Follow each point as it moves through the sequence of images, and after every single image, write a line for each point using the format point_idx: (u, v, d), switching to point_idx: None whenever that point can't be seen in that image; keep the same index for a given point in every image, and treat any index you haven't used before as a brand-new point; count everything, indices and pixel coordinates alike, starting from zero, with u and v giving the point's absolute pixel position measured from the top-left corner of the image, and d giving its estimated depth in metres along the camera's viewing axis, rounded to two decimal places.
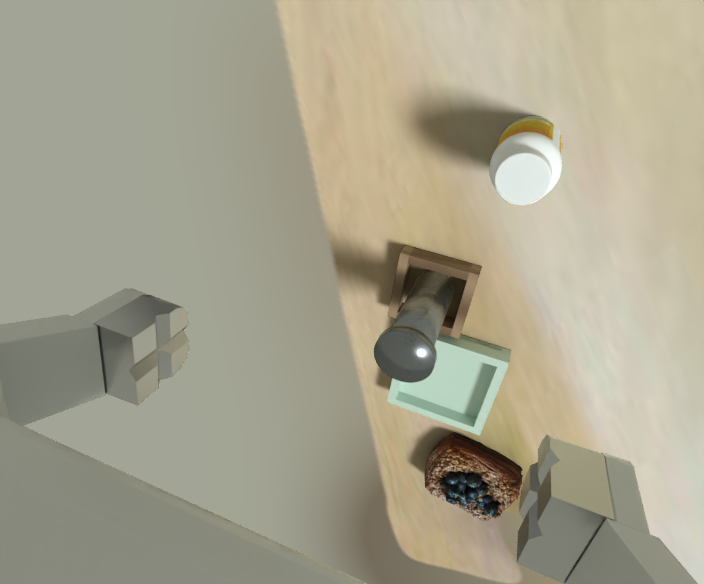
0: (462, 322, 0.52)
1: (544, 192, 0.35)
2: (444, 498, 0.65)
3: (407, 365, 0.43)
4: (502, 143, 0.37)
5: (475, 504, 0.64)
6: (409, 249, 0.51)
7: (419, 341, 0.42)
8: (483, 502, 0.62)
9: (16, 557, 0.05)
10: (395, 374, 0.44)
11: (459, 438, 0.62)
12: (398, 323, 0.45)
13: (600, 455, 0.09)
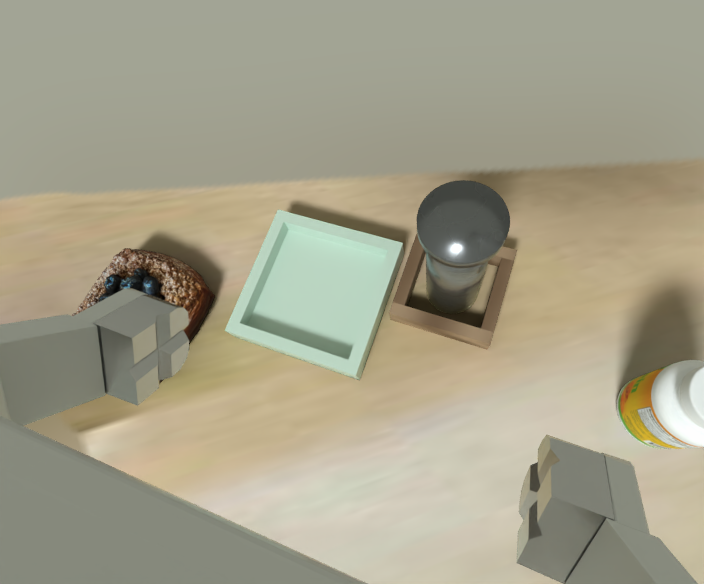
0: (415, 319, 0.39)
1: None
2: (106, 274, 0.43)
3: (449, 224, 0.30)
4: None
5: None
6: None
7: (496, 244, 0.29)
8: None
9: (16, 557, 0.05)
10: (429, 206, 0.30)
11: (209, 303, 0.44)
12: None
13: (601, 455, 0.09)
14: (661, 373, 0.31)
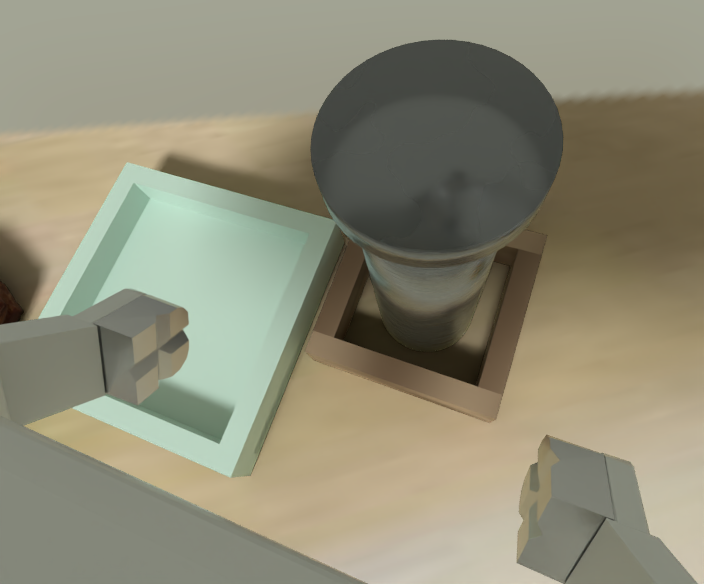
0: (353, 364, 0.21)
1: None
2: None
3: (396, 148, 0.11)
4: None
5: None
6: None
7: (526, 199, 0.10)
8: None
9: (16, 557, 0.05)
10: (348, 104, 0.11)
11: (6, 323, 0.25)
12: None
13: (601, 455, 0.09)
14: None
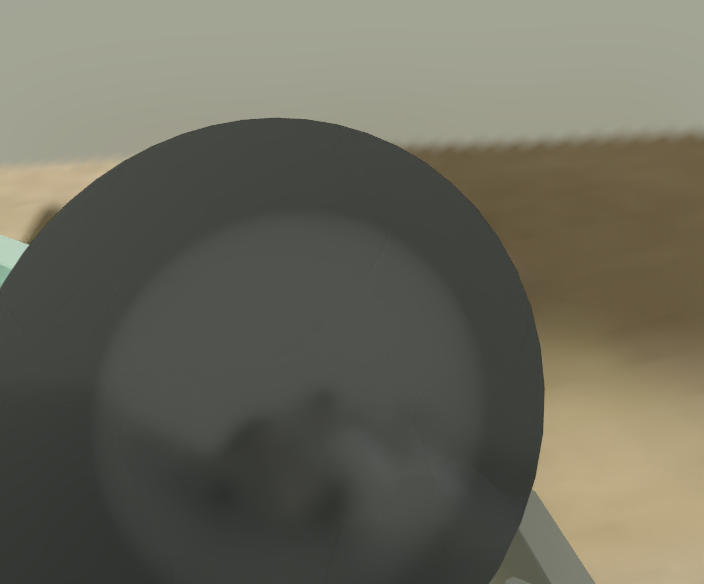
0: None
1: None
2: None
3: (146, 392, 0.05)
4: None
5: None
6: None
7: None
8: None
9: None
10: (66, 267, 0.05)
11: None
12: None
13: None
14: None
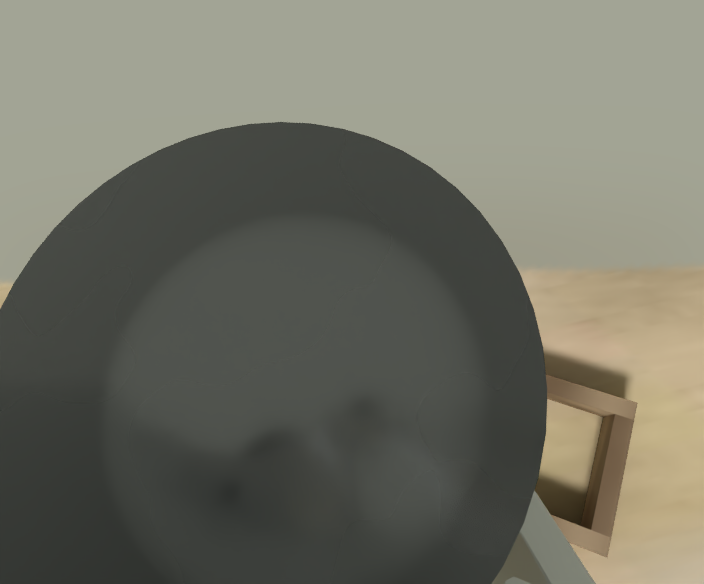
0: None
1: None
2: None
3: (155, 393, 0.05)
4: None
5: None
6: None
7: (448, 583, 0.04)
8: None
9: None
10: (74, 270, 0.05)
11: None
12: None
13: None
14: None
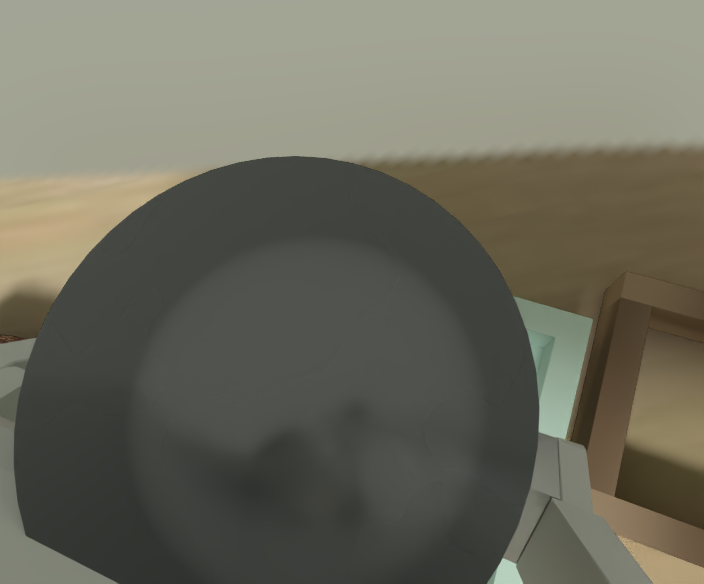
0: (653, 541, 0.14)
1: None
2: None
3: (185, 408, 0.05)
4: None
5: None
6: None
7: (450, 579, 0.04)
8: None
9: (16, 557, 0.05)
10: (107, 293, 0.06)
11: None
12: None
13: (554, 439, 0.09)
14: None
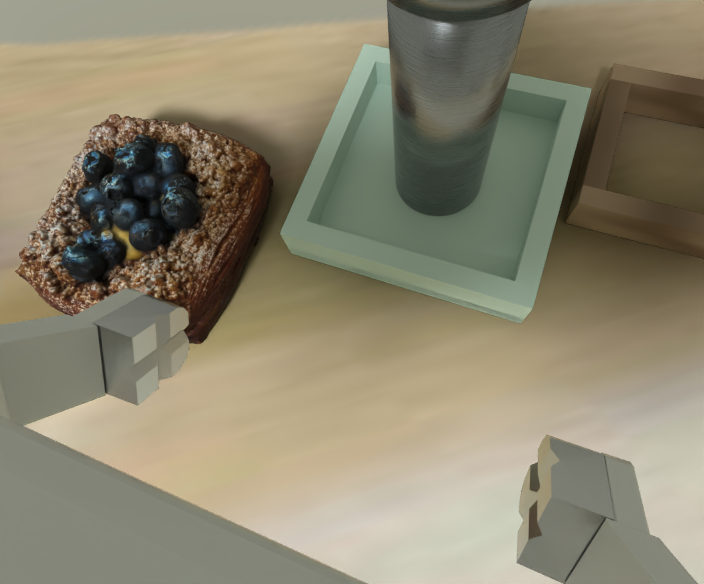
0: (630, 212, 0.22)
1: None
2: (81, 160, 0.24)
3: None
4: None
5: (78, 231, 0.23)
6: None
7: None
8: (99, 242, 0.22)
9: (16, 557, 0.05)
10: None
11: (268, 190, 0.26)
12: None
13: (601, 455, 0.09)
14: None
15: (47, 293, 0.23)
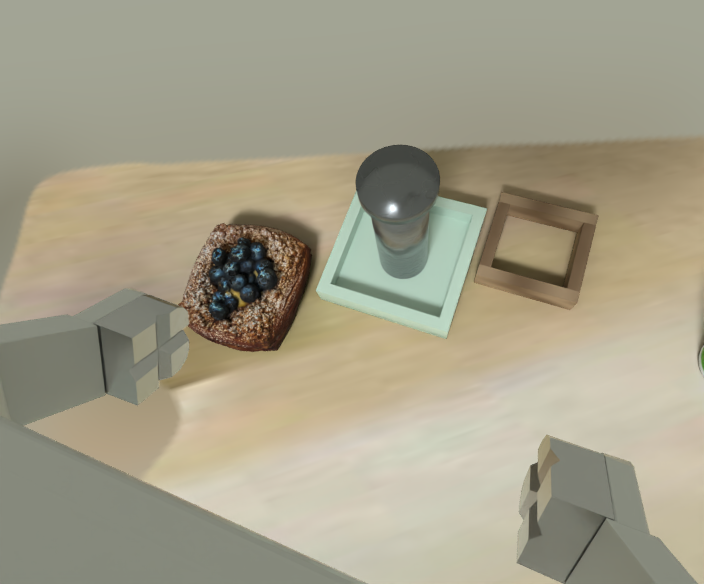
0: (502, 279, 0.41)
1: None
2: (206, 250, 0.44)
3: (385, 184, 0.32)
4: None
5: (210, 292, 0.43)
6: None
7: (426, 201, 0.31)
8: (225, 298, 0.42)
9: (16, 557, 0.05)
10: (368, 168, 0.33)
11: (309, 262, 0.45)
12: None
13: (601, 455, 0.09)
14: None
15: (196, 326, 0.42)
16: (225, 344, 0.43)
